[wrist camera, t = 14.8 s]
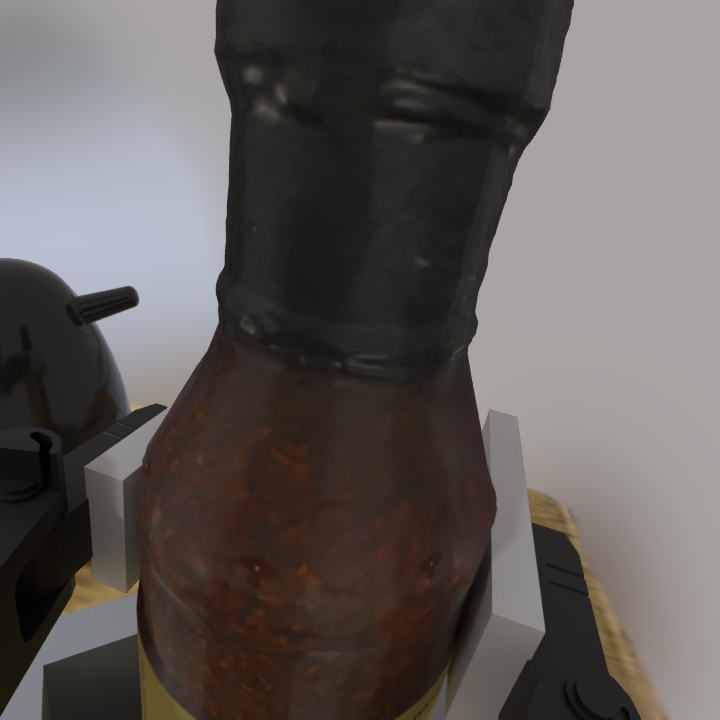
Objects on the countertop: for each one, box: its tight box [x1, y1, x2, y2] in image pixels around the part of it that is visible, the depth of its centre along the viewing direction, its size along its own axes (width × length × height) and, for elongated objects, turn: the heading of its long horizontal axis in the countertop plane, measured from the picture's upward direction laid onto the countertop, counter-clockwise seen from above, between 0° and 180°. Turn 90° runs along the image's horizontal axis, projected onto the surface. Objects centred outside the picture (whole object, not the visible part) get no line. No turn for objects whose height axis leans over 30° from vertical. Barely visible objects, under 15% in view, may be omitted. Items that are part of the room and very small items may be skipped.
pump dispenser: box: [0, 258, 139, 456], centre depth 23 cm, size 10×10×15 cm
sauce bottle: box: [136, 0, 574, 720], centre depth 9 cm, size 7×6×20 cm
